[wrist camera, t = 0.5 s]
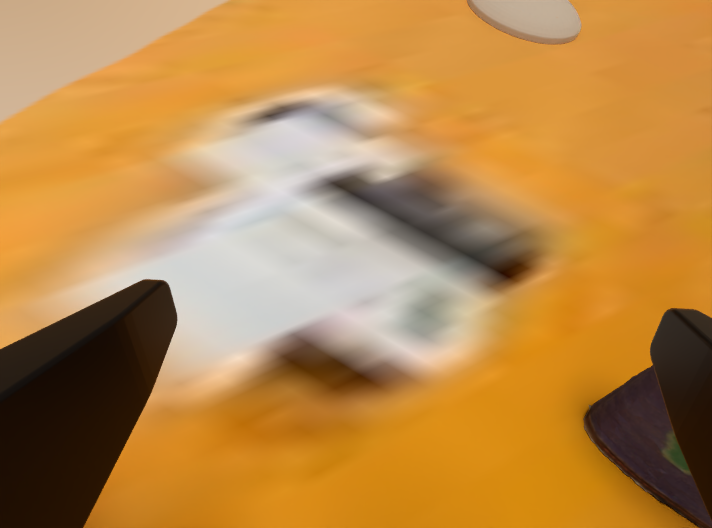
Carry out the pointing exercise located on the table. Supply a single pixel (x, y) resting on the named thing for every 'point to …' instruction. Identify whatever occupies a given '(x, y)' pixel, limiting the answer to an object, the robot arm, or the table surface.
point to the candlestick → (531, 19)
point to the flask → (646, 444)
